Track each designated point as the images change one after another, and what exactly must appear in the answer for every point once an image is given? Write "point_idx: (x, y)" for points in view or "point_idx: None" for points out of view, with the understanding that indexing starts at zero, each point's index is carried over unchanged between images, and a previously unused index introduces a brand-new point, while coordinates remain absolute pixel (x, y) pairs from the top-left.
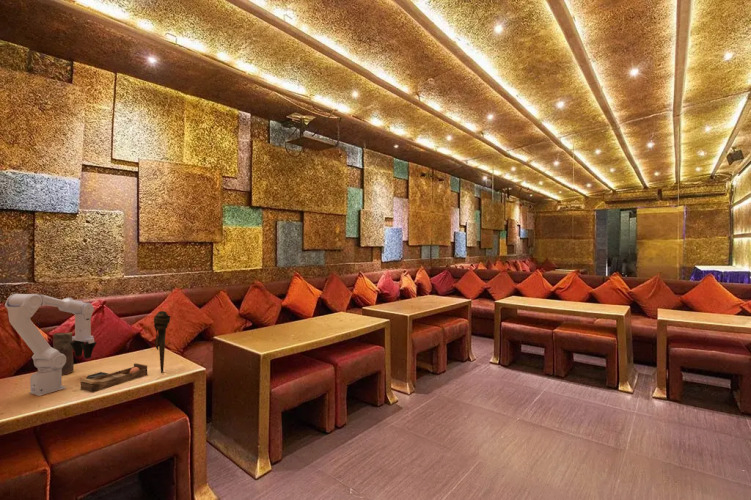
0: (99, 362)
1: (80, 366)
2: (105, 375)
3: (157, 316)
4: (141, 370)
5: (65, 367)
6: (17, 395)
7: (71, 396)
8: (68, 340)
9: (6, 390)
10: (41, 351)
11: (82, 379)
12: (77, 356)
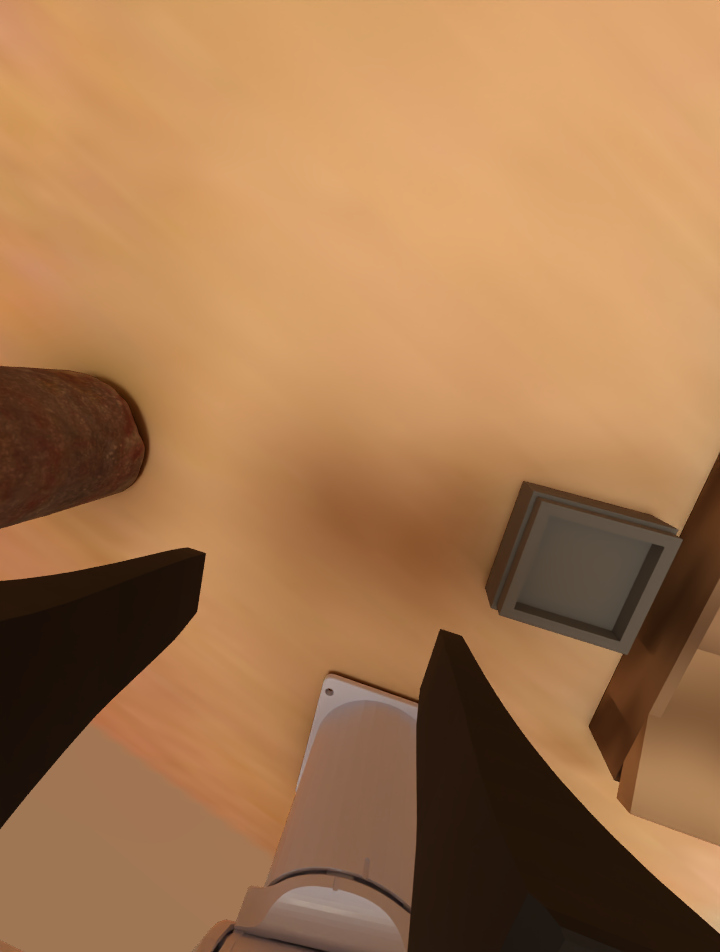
0: (56, 78)
1: (25, 246)
2: (716, 607)
3: None
4: None
5: (92, 477)
6: (264, 808)
7: (655, 846)
8: None
9: (115, 740)
10: None
11: (666, 825)
12: (198, 601)
